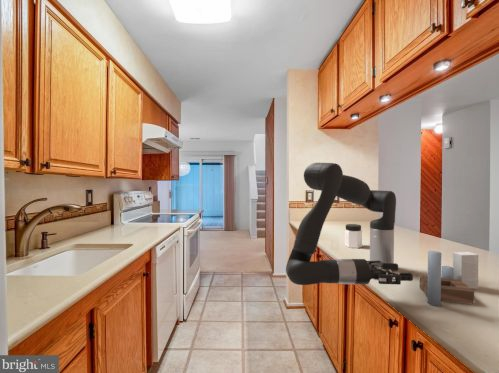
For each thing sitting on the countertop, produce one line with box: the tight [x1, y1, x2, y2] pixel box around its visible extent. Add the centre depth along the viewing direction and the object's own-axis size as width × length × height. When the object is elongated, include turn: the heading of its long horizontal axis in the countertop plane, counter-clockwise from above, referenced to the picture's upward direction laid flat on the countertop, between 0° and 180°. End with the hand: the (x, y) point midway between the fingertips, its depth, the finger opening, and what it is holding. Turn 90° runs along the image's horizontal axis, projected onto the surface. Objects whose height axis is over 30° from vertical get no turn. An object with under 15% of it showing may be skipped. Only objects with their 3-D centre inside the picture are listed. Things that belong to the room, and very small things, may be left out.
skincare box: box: [452, 251, 479, 290], centre depth 96 cm, size 6×4×12 cm
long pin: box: [426, 250, 442, 307], centre depth 84 cm, size 3×3×16 cm
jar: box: [344, 223, 363, 249], centre depth 153 cm, size 9×8×12 cm
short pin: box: [441, 265, 454, 279], centre depth 96 cm, size 3×3×7 cm
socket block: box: [418, 275, 475, 305], centre depth 90 cm, size 10×12×4 cm
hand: (404, 271), depth 84 cm, fingers open, 8 cm apart
